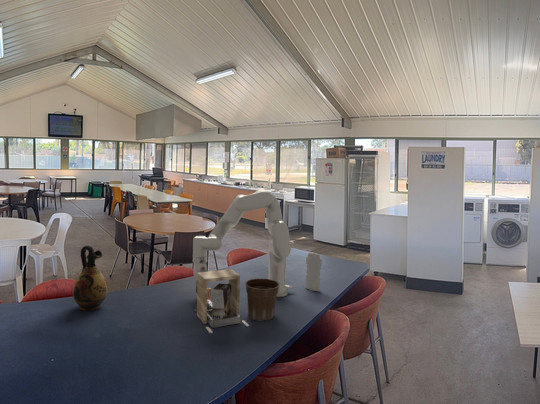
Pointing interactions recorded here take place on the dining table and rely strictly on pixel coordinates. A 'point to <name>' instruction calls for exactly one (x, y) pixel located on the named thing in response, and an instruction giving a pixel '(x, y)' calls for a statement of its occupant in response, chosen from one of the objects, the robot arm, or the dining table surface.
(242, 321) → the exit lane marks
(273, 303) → the plant pot
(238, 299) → the tunnel
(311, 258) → the tall pale column
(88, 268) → the ceramic jug
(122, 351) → the dining table surface
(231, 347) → the dining table surface
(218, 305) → the coffee box
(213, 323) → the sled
